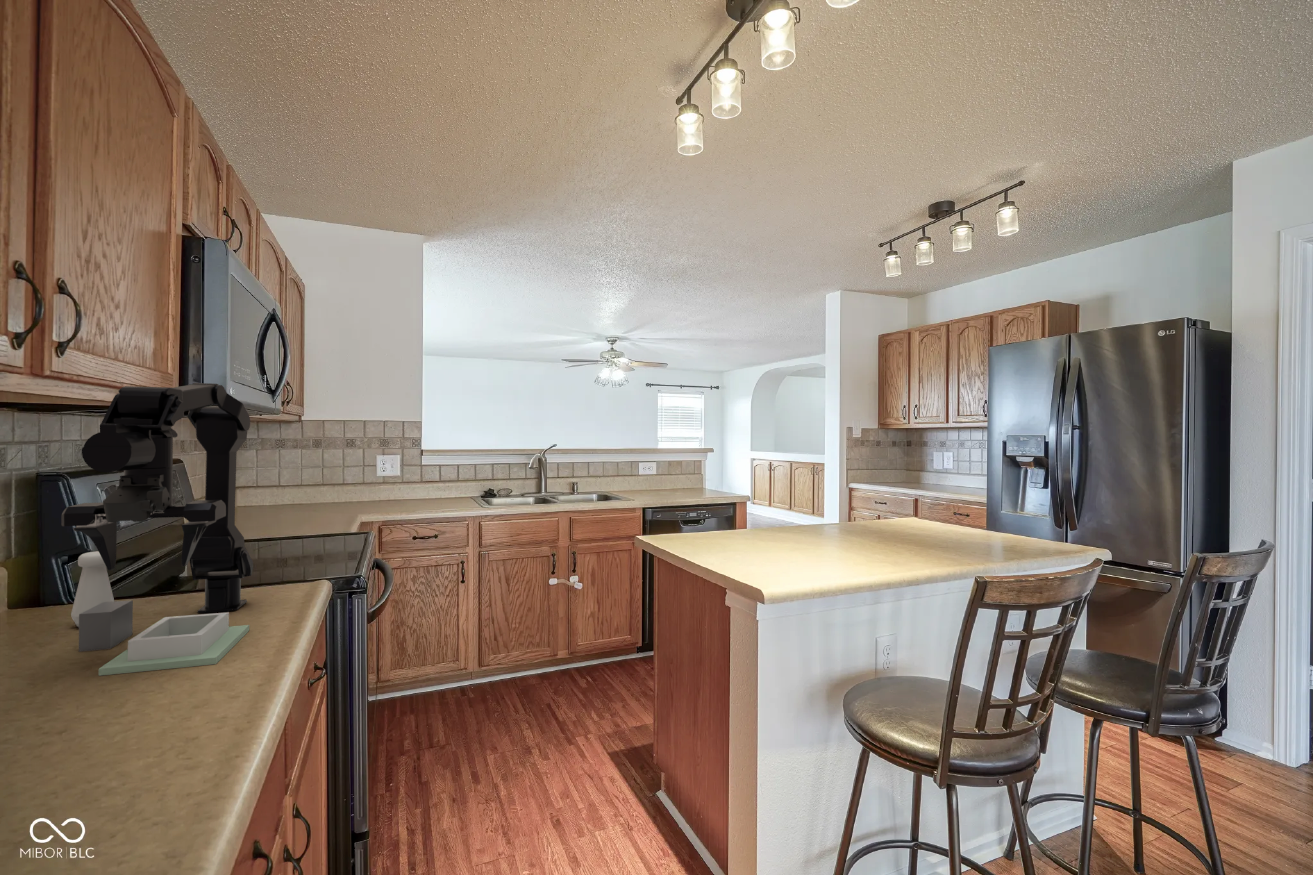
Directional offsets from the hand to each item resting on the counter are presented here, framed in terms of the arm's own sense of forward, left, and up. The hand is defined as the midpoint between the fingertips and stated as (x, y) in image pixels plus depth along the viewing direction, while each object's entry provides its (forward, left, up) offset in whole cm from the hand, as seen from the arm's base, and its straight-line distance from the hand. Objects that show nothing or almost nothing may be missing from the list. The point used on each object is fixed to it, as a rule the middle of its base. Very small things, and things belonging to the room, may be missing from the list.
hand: (148, 567), depth 91 cm
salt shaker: (-21, -16, -14) cm, 30 cm away
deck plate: (-1, +4, -14) cm, 14 cm away
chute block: (-9, -9, -14) cm, 19 cm away
